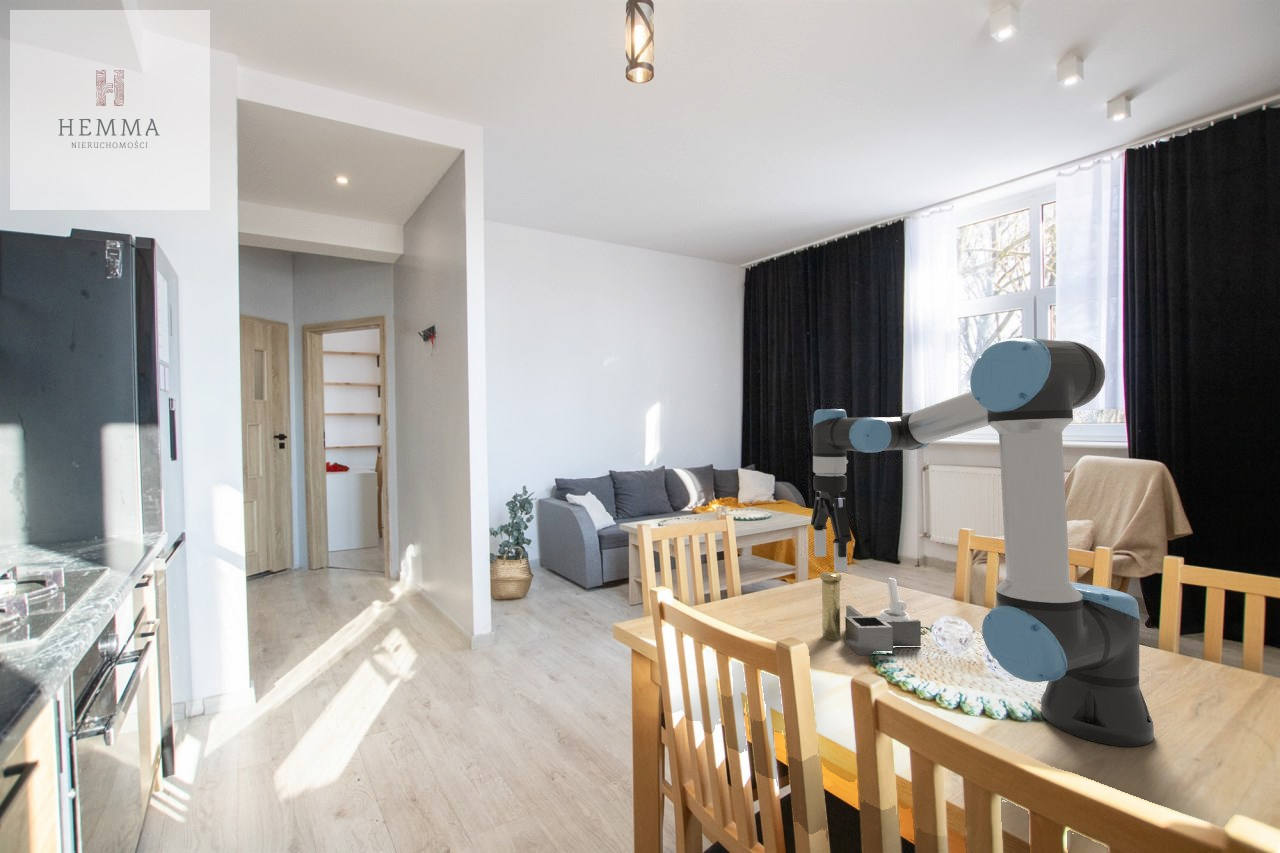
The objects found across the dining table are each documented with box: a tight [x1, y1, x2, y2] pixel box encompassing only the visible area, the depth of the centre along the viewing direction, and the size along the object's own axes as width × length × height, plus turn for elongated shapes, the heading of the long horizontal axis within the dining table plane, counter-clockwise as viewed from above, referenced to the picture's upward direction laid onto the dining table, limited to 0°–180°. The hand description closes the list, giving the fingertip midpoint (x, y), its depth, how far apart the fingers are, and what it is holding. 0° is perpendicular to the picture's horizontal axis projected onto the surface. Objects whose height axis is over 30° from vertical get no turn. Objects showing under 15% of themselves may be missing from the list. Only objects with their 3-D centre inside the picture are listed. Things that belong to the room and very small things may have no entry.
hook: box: [878, 577, 912, 621], centre depth 157 cm, size 8×12×7 cm
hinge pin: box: [819, 571, 842, 642], centre depth 142 cm, size 5×5×15 cm
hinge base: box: [844, 605, 922, 656], centre depth 139 cm, size 16×16×6 cm
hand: (829, 563), depth 142 cm, fingers open, 13 cm apart
